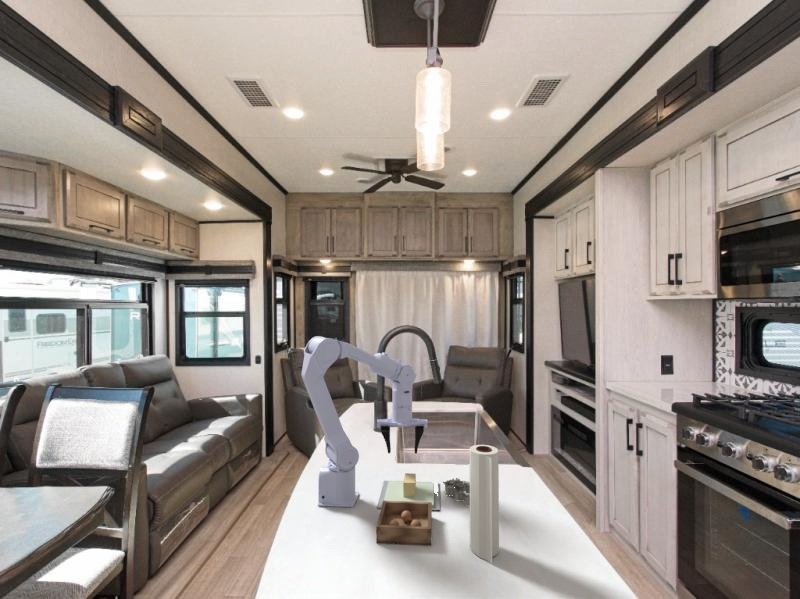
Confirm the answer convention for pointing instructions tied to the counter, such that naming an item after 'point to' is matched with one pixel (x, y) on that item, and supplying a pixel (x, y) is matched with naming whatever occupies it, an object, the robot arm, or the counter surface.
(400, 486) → the lid
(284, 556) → the counter surface
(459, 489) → the egg carton
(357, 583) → the counter surface
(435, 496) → the mat
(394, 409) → the robot arm
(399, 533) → the box base
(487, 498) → the paper towel roll
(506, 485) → the counter surface
